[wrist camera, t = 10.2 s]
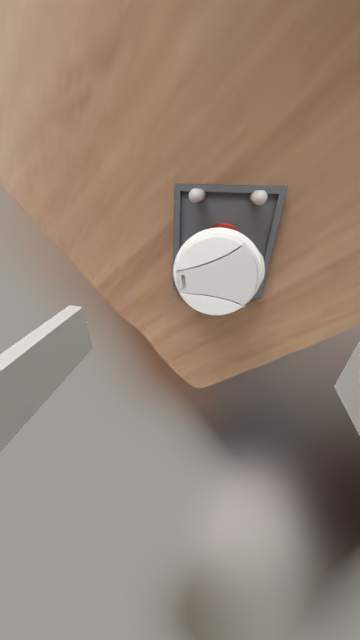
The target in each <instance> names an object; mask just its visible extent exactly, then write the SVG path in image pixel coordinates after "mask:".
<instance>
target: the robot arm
mask: <svg viewBox="0 0 360 640" xmlns="http://www.w3.org/2000/svg"><path fill="white" fill-rule="evenodd" d="M91 349H92V345H91V341H90V337H89V332H88V328H87V324H86V320H85V315H84V311H83V307H77V306H68V307H67V308H65V309H64V310H62V311H61V312H60V313H58V314H57V315H55V316H54V317H52V318H51V319H50V320H48V321H47V322H45V323H44V324H43V325H41V326H40V327H38V328H37V329H36V330H34V331H33V332H31V333H30V334H28V335H27V336H26V337H24V338H23V339H21V340H20V341H19V342H17V343H16V344H14V345H13V346H12V347H10V348H9V349H7V350H6V351H4V352H3V353H2V354H0V452H1V451H2V450H3V449H4V447H5V446H6V445H7V444H8V443H9V442H10V441H11V439H12V438H13V437H14V436H15V435H16V434H17V433H18V432H19V430H20V429H21V428H22V427H23V426H24V425H25V424H26V423H27V421H28V420H29V419H30V418H31V417H32V416H33V415H34V414H35V412H36V411H37V410H38V409H39V408H40V407H41V406H42V404H43V403H44V402H45V401H46V400H47V399H48V398H49V397H50V395H51V394H52V393H53V392H54V391H55V390H56V389H57V387H58V386H59V385H60V384H61V383H62V382H63V381H64V380H65V378H66V377H67V376H68V375H69V374H70V373H71V372H72V371H73V369H74V368H75V367H76V366H77V365H78V364H79V363H80V362H81V360H82V359H83V358H84V357H85V356H86V355H87V354H88V352H89V351H90V350H91ZM334 388H335V389H336V391H337V393H338V395H339V397H340V399H341V401H342V403H343V405H344V407H345V409H346V411H347V412H348V414H349V416H350V418H351V420H352V422H353V424H354V426H355V428H356V430H357V431H358V433H359V435H360V342H359V343H358V345H357V347H356V348H355V350H354V352H353V354H352V355H351V357H350V359H349V361H348V362H347V364H346V366H345V368H344V369H343V371H342V373H341V375H340V377H339V379H338V380H337V382H336V384H335V386H334Z"/></svg>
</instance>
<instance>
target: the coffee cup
mask: <svg viewBox="0 0 360 640" xmlns="http://www.w3.org/2000/svg"><path fill="white" fill-rule="evenodd" d="M173 274H174V281H175V285H176V287H177V289H178V291H179V293H180V295H181V297H182V298H183V299H184V301H185V302H186V303H187V304H188V305H189V306H190V307H192V308H193V309H195V310H197V311H199V312H201V313H204V314H209V315H225V314H229V313H232V312H234V311H236V310H238V309H240V308H241V307H243V306H244V305H245V304H246V303H248V302H249V301H250V300H251V299H252V298H253V297H254V295H255V294H256V292H257V291H258V288H259V286H260V284H261V283H262V281H263V279H264V274H265V265H264V260H263V256H262V255H261V253H260V252H259V251H258V249H257V248H256V246H255V245H254V243H253V242H252V241H251V240H250V239H249V238H248V237H246V236H245V235H243V234H242V233H241V232H240V231H239V230H238V229H237V228H236V227H234V226H233V225H231V224H227V223H220V224H216V225H213V226H212V227H210V228H208V229H205V230H203V231H200V232H198V233H196V234H195V235H193V236H192V237H190V238H189V239H188V240H187V241H186V242H185V243H184V244H183V245H182V247H181V248H180V250H179V252H178V253H177V256H176V258H175V262H174V270H173Z"/></svg>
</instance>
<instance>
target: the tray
mask: <svg viewBox="0 0 360 640" xmlns="http://www.w3.org/2000/svg"><path fill="white" fill-rule="evenodd" d="M287 188H288V186H250V185H208V184H175V199H174V262H175V258H176V256H177V253H178V252H179V250H180V248H181V247H182V245H183V244H184V243H185V242H186V241H187V240H188V239H189V238H190V237H192V236H193V235H195V234H196V233H198V232H200V231H203V230H205V229H208V228H210V227H212V226H213V225H216V224H220V223H227V224H231V225H233V226H234V227H236V228H237V229H238V230H239V231H240V232H241V233H242V234H243V235H245V236H246V237H248V238H249V239H250V240H251V241H252V242H253V243H254V245H255V246H256V248H257V249H258V251H259V252H260V253H261V255H262V256H263V260H264V265H265V274H264V279H263V281H262V283H261V284H260V286H259V288H258V291H257V292H256V294H255V295H254V297H253V298H255V299H261V297H262V292H263V288H264V284H265V280H266V276H267V271H268V267H269V263H270V259H271V255H272V250H273V246H274V242H275V238H276V234H277V230H278V225H279V221H280V217H281V213H282V209H283V204H284V200H285V196H286V192H287ZM174 290H178V289H177V287H176V285H175V281H174ZM245 306H246V304H245V305H244V306H243V307H241V308H240V309H242V308H244V307H245Z"/></svg>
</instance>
